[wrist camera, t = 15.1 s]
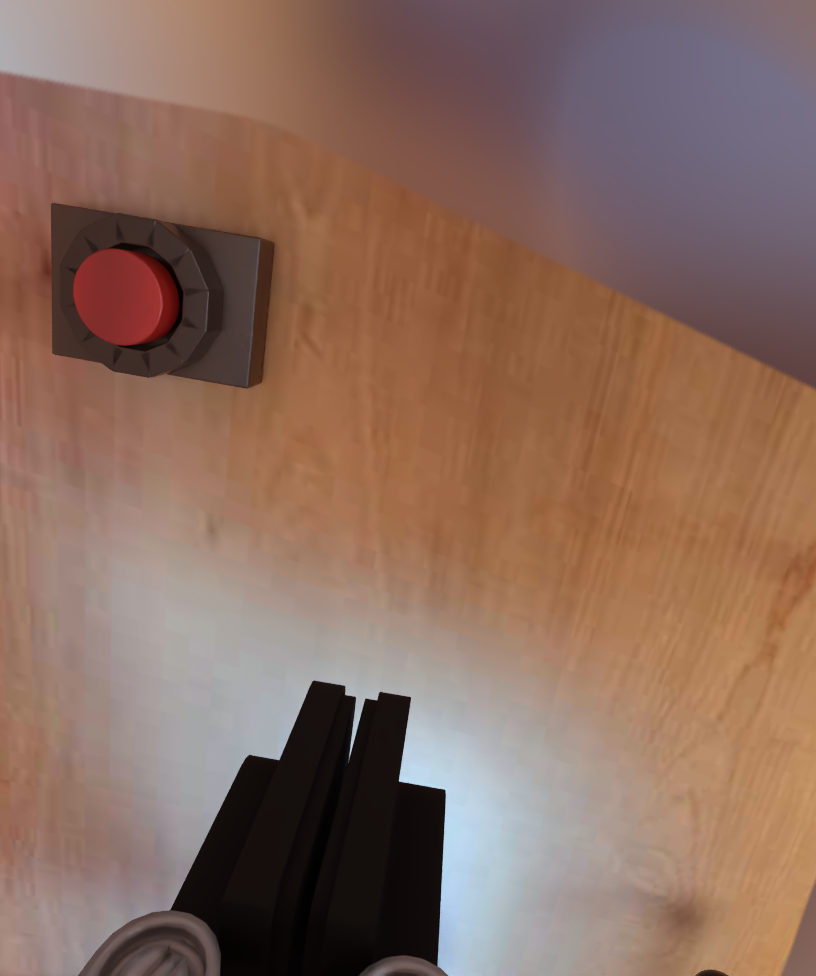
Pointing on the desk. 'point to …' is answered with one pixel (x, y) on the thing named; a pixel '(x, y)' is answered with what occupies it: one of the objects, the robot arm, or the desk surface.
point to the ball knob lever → (711, 973)
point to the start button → (125, 297)
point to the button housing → (201, 287)
